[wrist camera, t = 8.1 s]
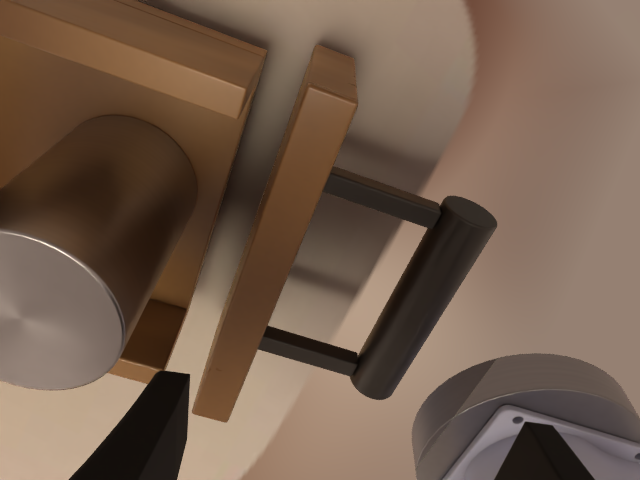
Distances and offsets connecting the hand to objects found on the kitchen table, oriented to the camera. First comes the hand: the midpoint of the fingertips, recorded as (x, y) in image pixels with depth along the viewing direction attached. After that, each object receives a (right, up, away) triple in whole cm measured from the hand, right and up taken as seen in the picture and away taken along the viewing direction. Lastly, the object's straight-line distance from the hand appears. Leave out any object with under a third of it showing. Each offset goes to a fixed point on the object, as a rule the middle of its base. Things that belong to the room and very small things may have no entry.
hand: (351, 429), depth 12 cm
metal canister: (-6, +6, +5) cm, 10 cm away
